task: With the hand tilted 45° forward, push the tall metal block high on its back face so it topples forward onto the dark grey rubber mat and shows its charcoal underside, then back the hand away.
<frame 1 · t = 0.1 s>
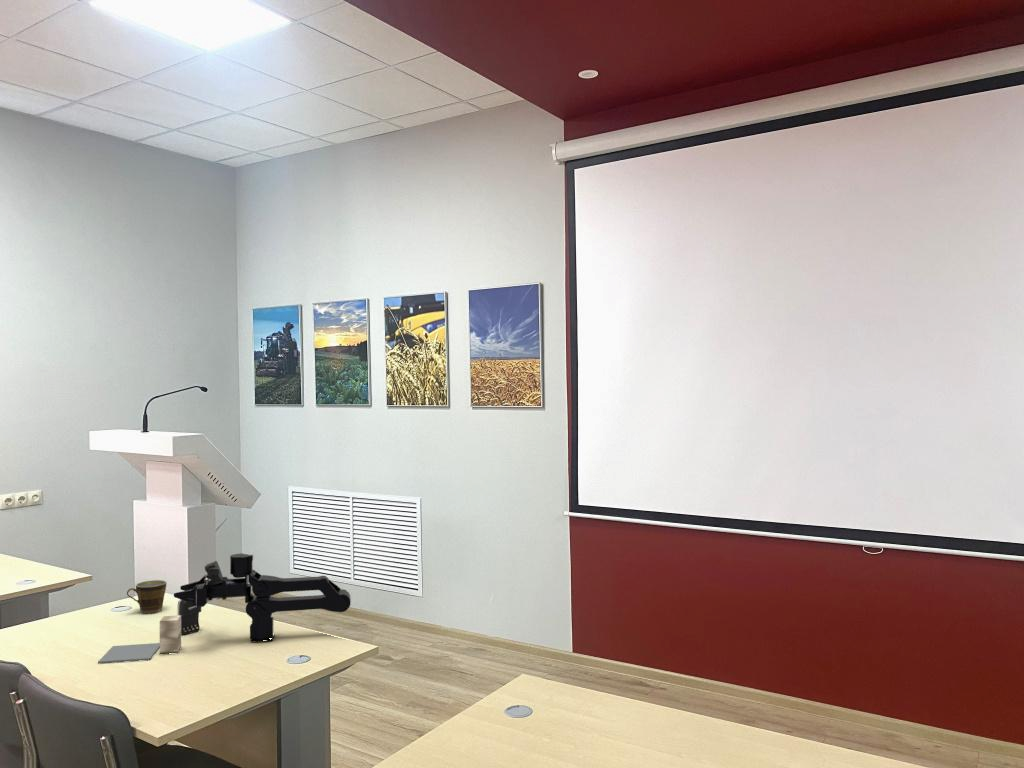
hand: (177, 591, 236), 17 cm above the table, tool horizontal, fingers open, 9 cm apart
battery charger: (190, 633, 248), on the table
ceramic cup: (146, 612, 271), on the table
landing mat: (131, 653, 227), on the table
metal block: (170, 651, 230), on the table
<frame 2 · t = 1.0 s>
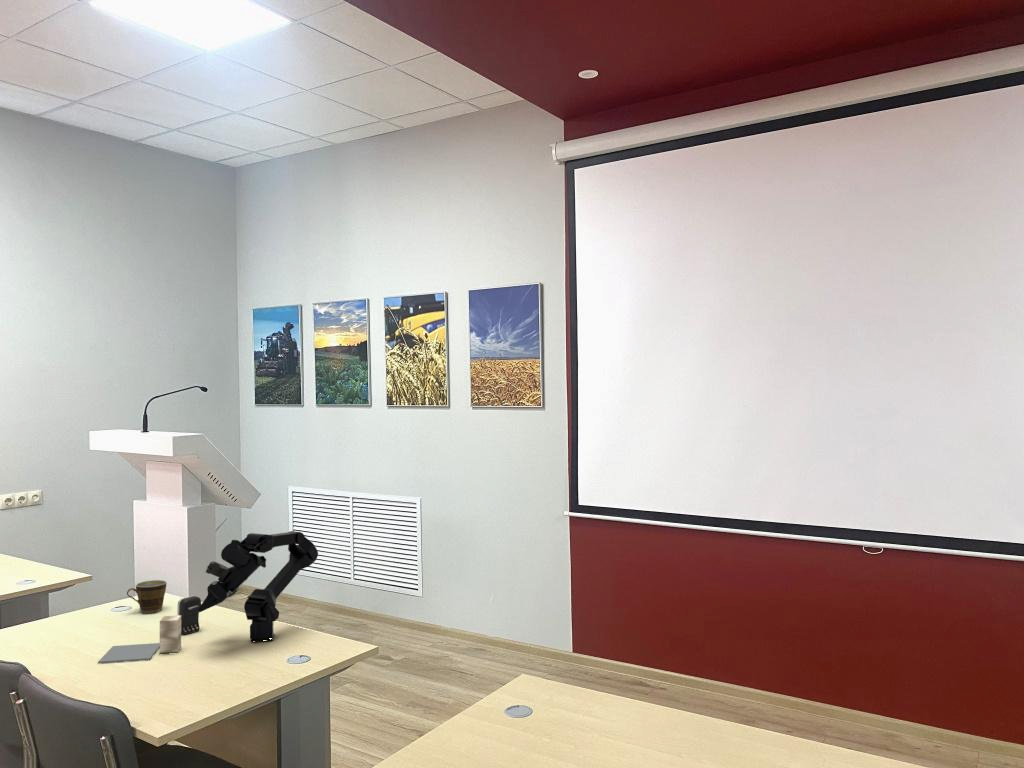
hand: (203, 608, 232), 12 cm above the table, tool tilted 45°, fingers open, 9 cm apart
nothing on the table moved.
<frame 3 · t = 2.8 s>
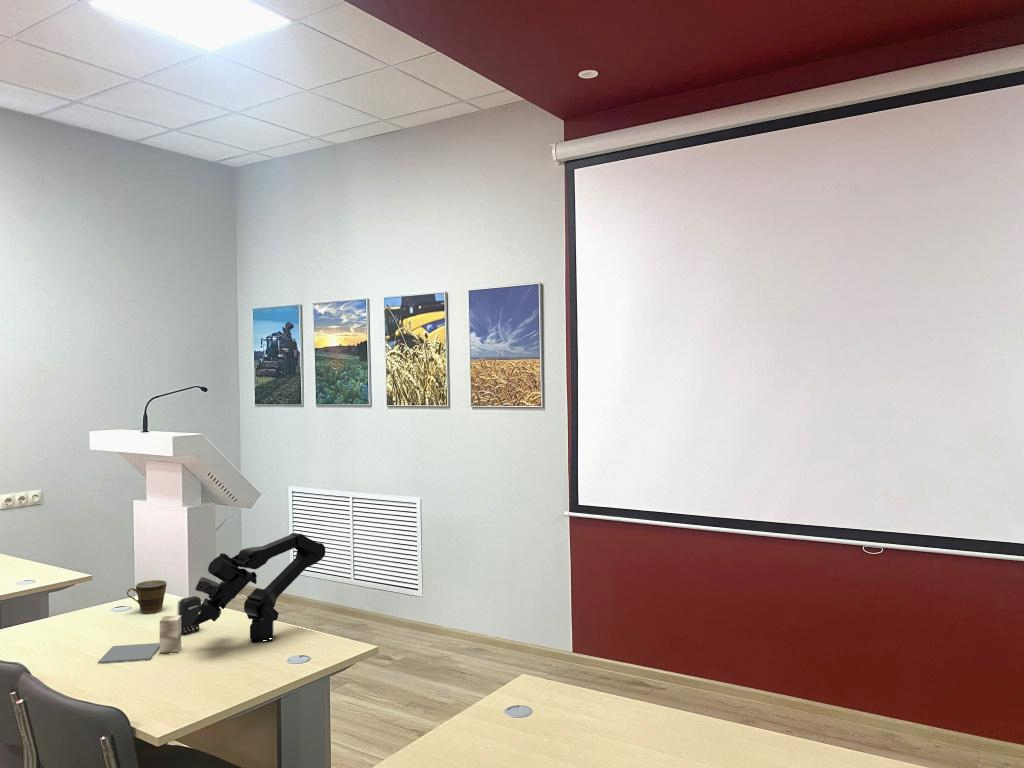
hand: (193, 624, 231), 8 cm above the table, tool tilted 45°, fingers closed
nothing on the table moved.
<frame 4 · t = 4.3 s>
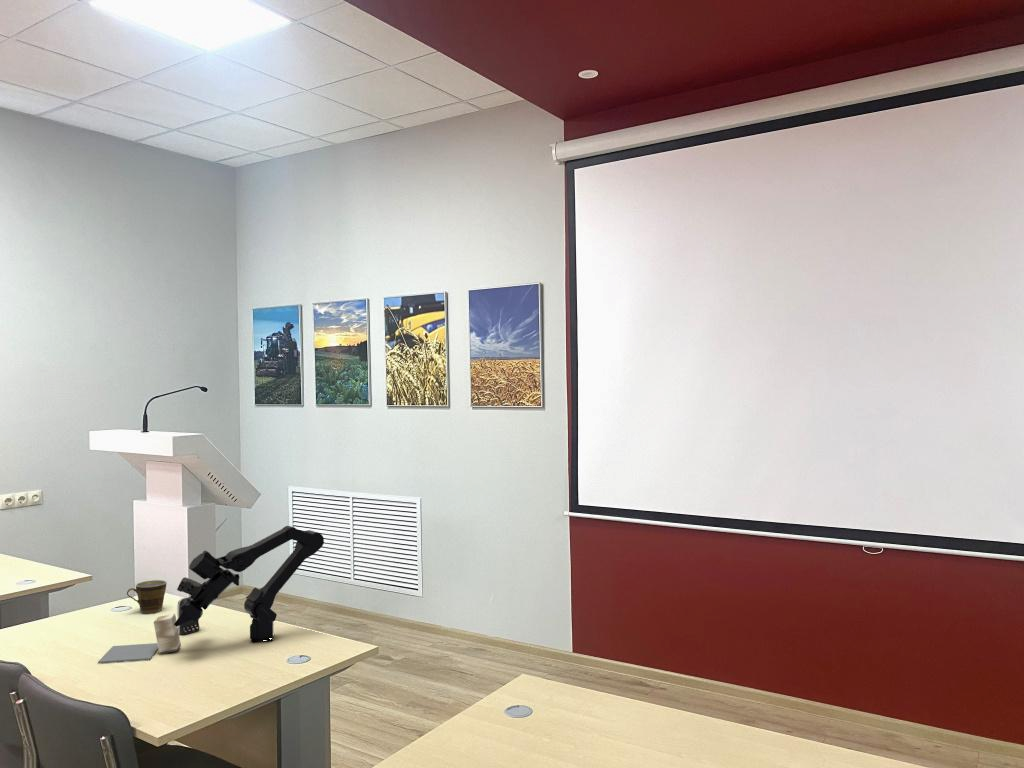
hand: (175, 625, 230), 8 cm above the table, tool tilted 45°, fingers closed
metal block: (170, 649, 230), on the table, tilted 10°
everything else where it was.
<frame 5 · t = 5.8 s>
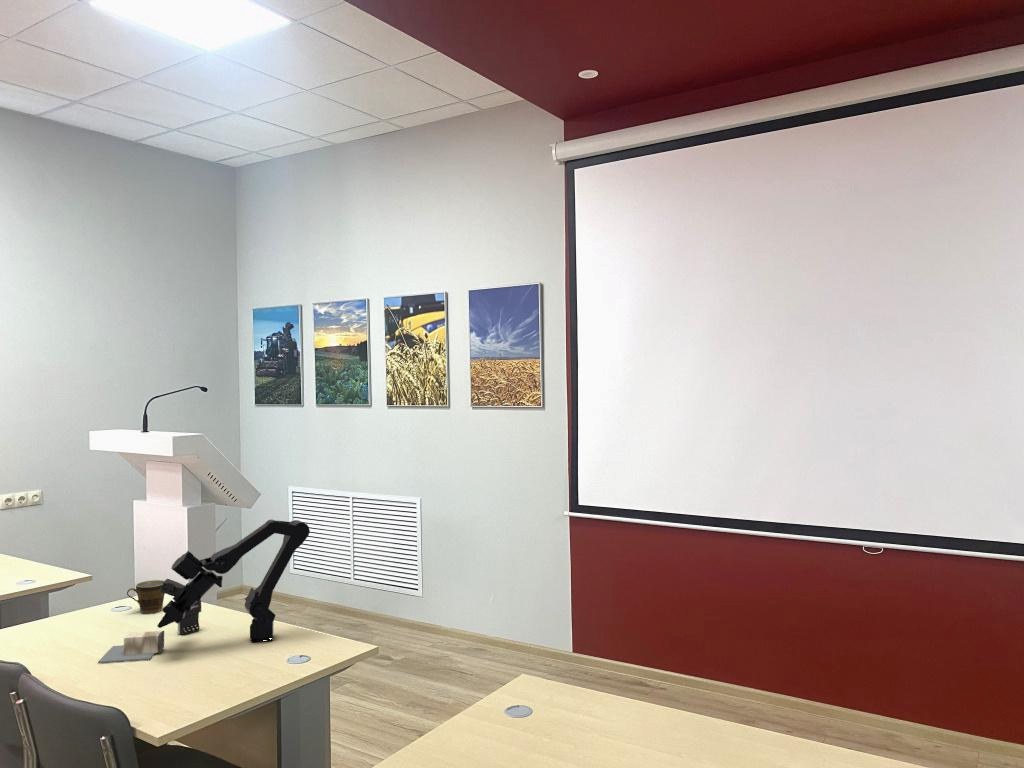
hand: (158, 626, 229), 8 cm above the table, tool tilted 45°, fingers closed
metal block: (162, 641, 229), point 3 cm above the table, tilted 90°, touching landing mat
everything else where it was.
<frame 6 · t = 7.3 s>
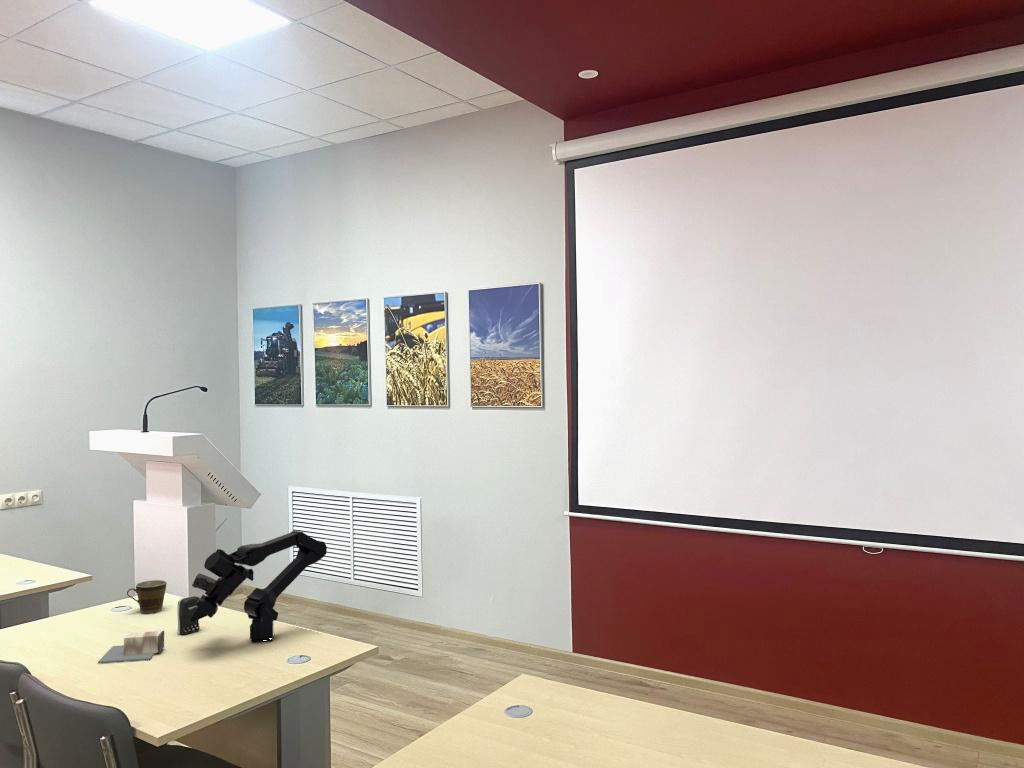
hand: (190, 621, 231), 9 cm above the table, tool tilted 45°, fingers closed
nothing on the table moved.
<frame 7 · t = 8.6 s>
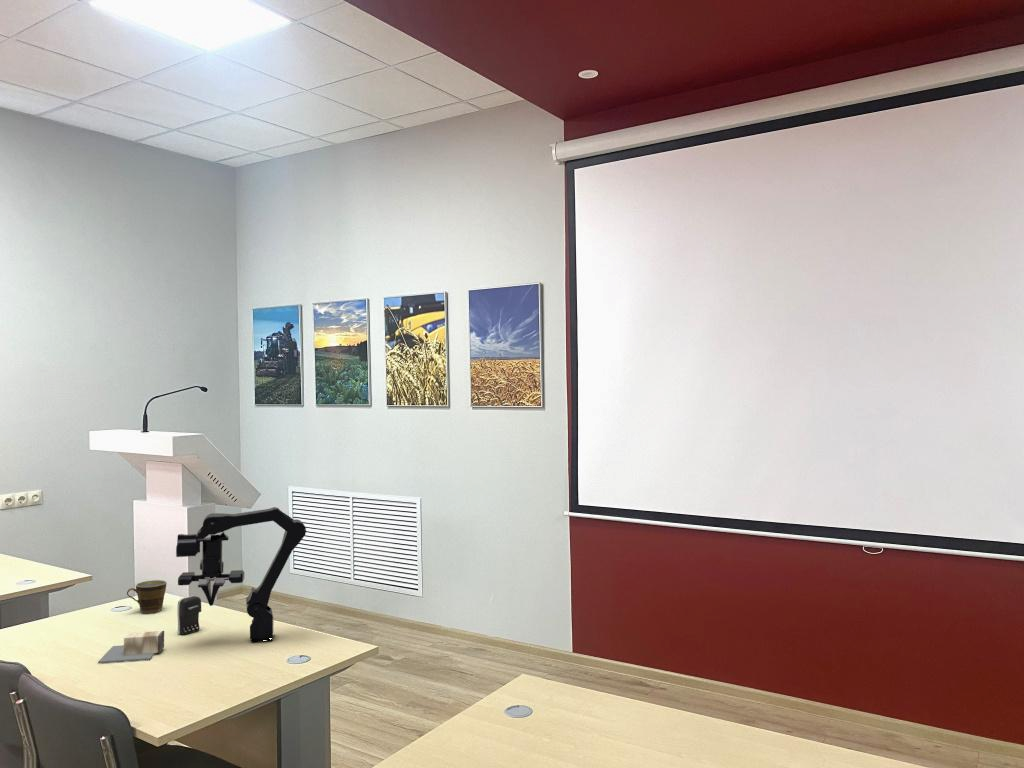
hand: (211, 605, 236), 12 cm above the table, tool pointing down, fingers closed
nothing on the table moved.
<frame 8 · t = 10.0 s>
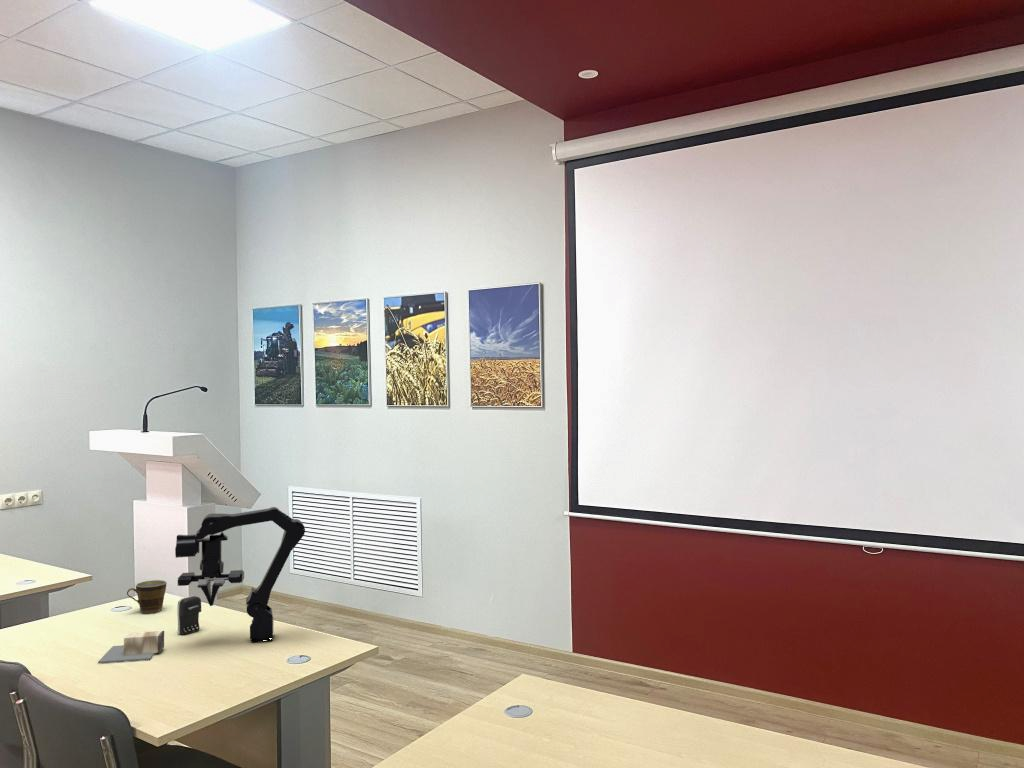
hand: (211, 605, 236), 12 cm above the table, tool pointing down, fingers closed
nothing on the table moved.
at the end: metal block tilted 90°; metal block touching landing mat; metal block inside the target area (1.2 cm from its centre), point 3.1 cm above the table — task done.
